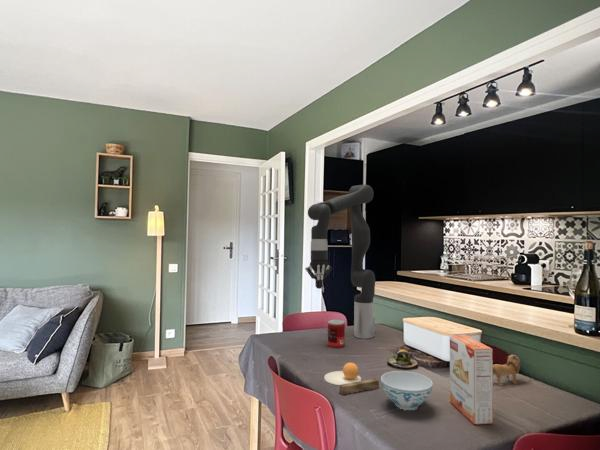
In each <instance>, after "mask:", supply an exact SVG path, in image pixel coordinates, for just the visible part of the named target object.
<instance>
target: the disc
mask: <svg viewBox="0 0 600 450" xmlns="http://www.w3.org/2000/svg"><path fill="white" fill-rule="evenodd" d="M324 381H326V382H327V383H328V384H332V385H335V386H339V385H342V384H347V383H353V382H358V381H362V377H361V375H359V374H358V376H357V377H356V378H355V379H348V378H346V377H345V376H344V374H343V370H336V371H330V372H327V373H326V374H325V375H324Z"/></svg>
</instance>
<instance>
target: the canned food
mask: <svg viewBox="0 0 600 450" xmlns="http://www.w3.org/2000/svg"><path fill="white" fill-rule="evenodd" d="M345 325H346V323H345V320H341V319H330V320H328V321H327V345H328V347H329V348H333V349H340V348H344V347H345V343H346V342H345V341H346V339H345V336H346V332H345V331H346V326H345Z"/></svg>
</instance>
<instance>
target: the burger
mask: <svg viewBox="0 0 600 450" xmlns="http://www.w3.org/2000/svg"><path fill="white" fill-rule="evenodd" d="M396 353H397V354H396V355H395V354H393V355H391V357H388V358H387V362H386V364H387V365H392V366H393V367H396V368H397V367H398V368H404V369H406V368H408V369H409V368H413V367H416V368H419V361H418V360H416V359H414V358H413V357H411V356H409V351H408V350H406V349H404V348H401V349H399V350H398V351H397V352H396Z"/></svg>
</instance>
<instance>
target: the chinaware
mask: <svg viewBox="0 0 600 450" xmlns="http://www.w3.org/2000/svg"><path fill="white" fill-rule="evenodd" d="M380 381H381V386H382V389H383V391H384V393H385V395H386V396H387V398H388V399H389V400H390V401H391V402H392V403H394V406H395V405H396V406H397V407H399V408H401V409H405V410H404V411H406V410H413V411H415V410H414V409H416V410H417V409H419V406H422V405H423V404H424V403H425V402H426V401H427V400H428V398H429V397H430V395H431V392H432V390H433V381H432V380H431V378H430V377H428V376H426V375H423V374H420V373H418V372H413V371H405V370H404V371H403V370H395V371H389V372H385V373H383V374H382V375H381V377H380ZM396 406H395V407H396ZM397 407H396V408H397ZM399 408H398V409H399ZM401 409H400V410H401Z"/></svg>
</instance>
